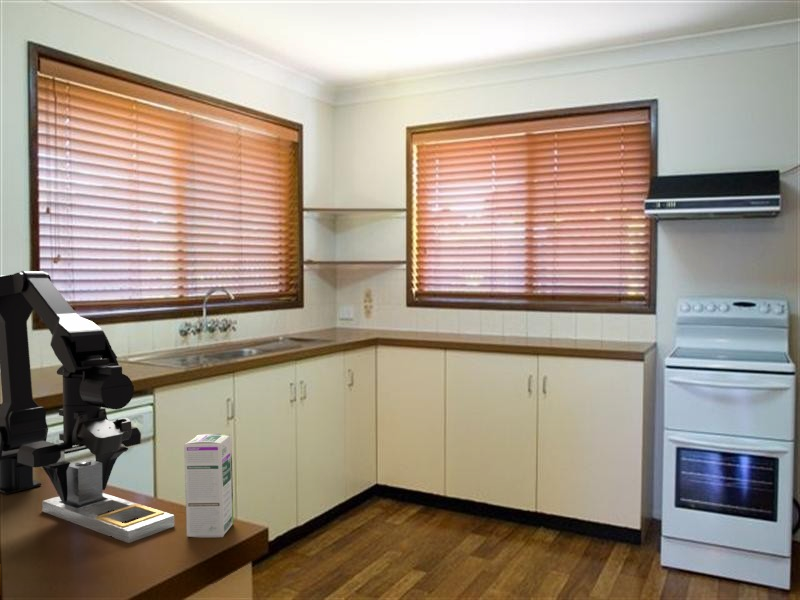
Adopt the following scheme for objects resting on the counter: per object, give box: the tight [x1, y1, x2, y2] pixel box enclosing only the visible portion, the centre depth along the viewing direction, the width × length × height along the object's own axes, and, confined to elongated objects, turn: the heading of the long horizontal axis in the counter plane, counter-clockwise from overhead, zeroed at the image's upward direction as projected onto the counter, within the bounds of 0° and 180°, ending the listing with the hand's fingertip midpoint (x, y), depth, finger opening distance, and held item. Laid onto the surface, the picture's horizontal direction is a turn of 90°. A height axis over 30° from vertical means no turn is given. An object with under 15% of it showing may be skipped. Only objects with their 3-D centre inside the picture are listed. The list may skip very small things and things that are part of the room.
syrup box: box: [183, 433, 235, 538], centre depth 102 cm, size 6×6×14 cm
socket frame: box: [41, 492, 175, 544], centre depth 107 cm, size 24×8×2 cm, turn 56°
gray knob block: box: [65, 458, 104, 508], centre depth 111 cm, size 4×4×8 cm
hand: (83, 495), depth 111 cm, fingers open, 6 cm apart
